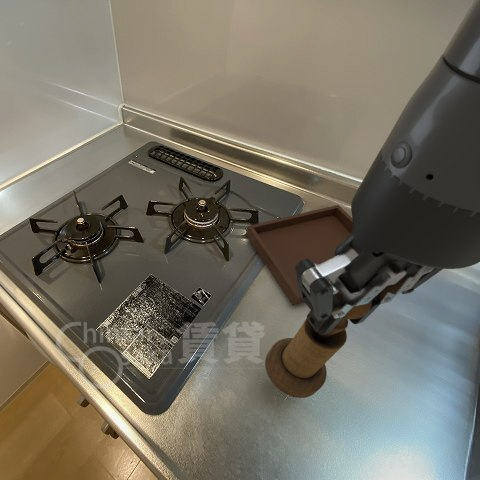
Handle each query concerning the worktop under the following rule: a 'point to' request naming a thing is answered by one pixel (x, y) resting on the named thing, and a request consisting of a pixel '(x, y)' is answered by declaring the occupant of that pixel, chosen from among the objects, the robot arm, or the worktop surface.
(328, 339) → the mortar and pestle
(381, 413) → the worktop surface
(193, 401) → the worktop surface
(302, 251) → the tray
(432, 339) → the worktop surface
